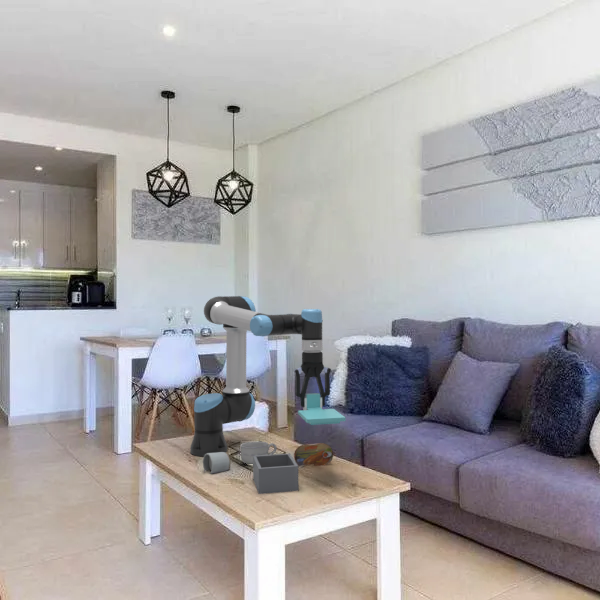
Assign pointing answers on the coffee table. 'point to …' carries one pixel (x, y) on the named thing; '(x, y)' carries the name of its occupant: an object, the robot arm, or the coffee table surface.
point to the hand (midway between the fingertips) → (312, 415)
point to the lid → (319, 412)
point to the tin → (313, 454)
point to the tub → (275, 473)
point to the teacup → (255, 450)
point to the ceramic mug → (216, 462)
